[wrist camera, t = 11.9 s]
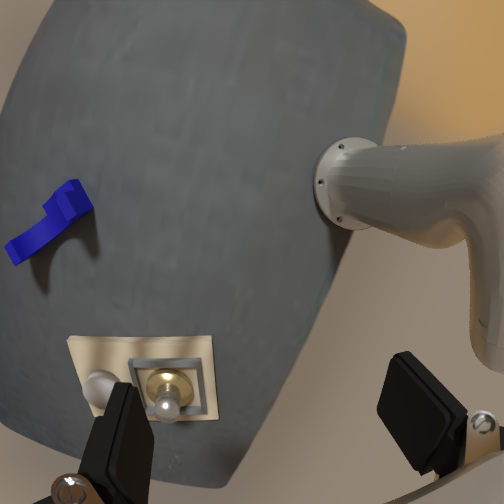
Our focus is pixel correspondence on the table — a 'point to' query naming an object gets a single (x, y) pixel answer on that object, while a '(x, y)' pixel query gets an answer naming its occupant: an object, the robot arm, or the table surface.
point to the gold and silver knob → (168, 393)
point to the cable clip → (51, 221)
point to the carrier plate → (145, 369)
